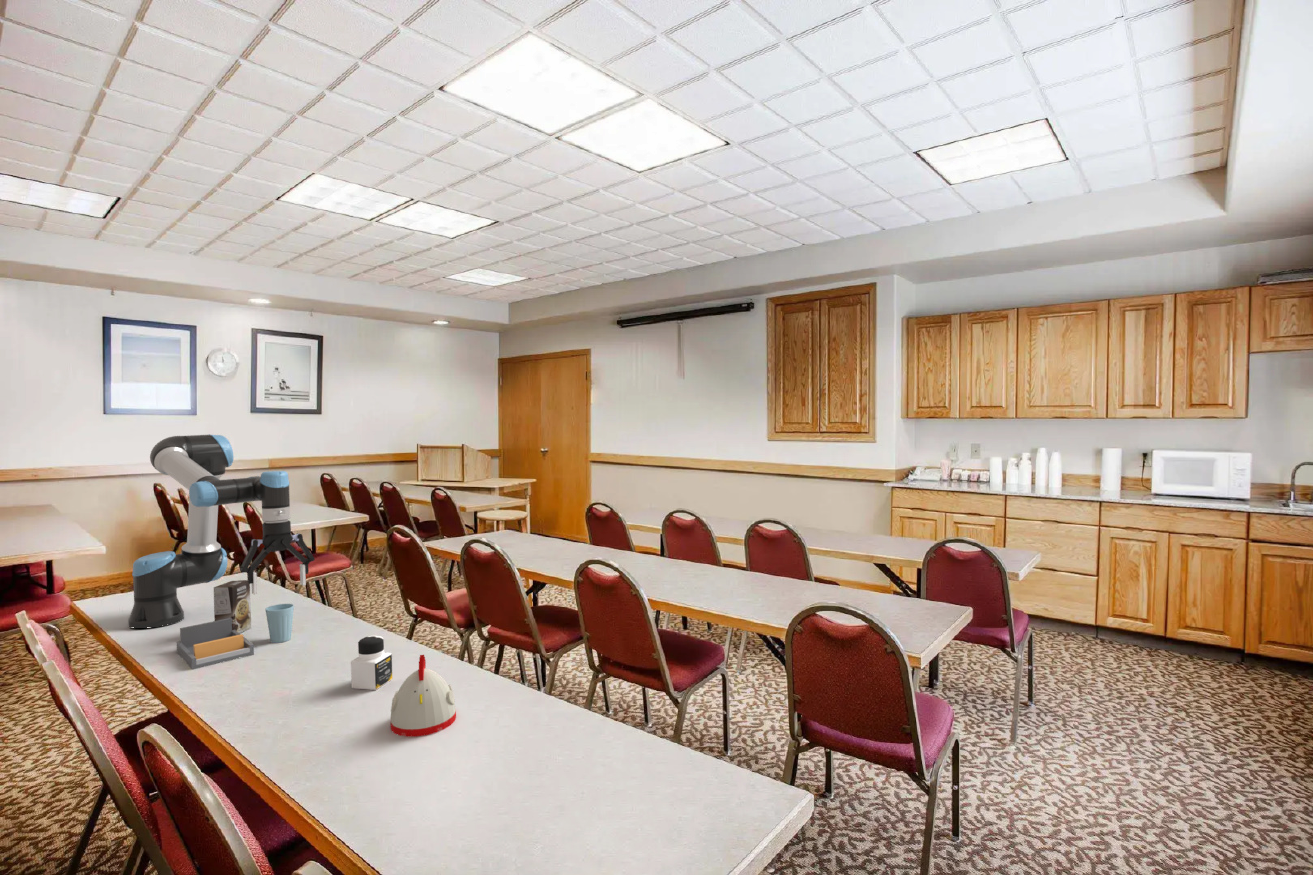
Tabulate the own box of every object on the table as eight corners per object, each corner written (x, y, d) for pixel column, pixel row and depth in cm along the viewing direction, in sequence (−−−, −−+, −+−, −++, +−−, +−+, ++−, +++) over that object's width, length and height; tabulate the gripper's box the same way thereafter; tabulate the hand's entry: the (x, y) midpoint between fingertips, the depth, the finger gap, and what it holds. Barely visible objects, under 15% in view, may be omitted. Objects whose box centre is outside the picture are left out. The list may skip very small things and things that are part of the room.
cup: (294, 634, 209) (293, 602, 209) (295, 641, 203) (294, 608, 202) (267, 638, 205) (265, 605, 205) (266, 646, 199) (265, 612, 198)
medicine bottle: (376, 690, 164) (374, 643, 164) (351, 688, 166) (349, 642, 165) (393, 679, 171) (391, 634, 171) (368, 677, 173) (367, 632, 172)
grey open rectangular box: (176, 652, 195) (175, 629, 194) (235, 639, 205) (234, 617, 205) (192, 669, 181) (191, 644, 180) (253, 654, 192) (252, 630, 191)
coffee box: (234, 637, 207) (232, 586, 207) (214, 637, 208) (212, 587, 207) (252, 628, 216) (250, 579, 216) (233, 628, 217) (231, 579, 216)
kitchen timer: (386, 741, 139) (384, 671, 138) (394, 712, 152) (392, 649, 151) (455, 731, 142) (453, 663, 142) (456, 704, 156) (455, 642, 155)
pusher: (190, 654, 189) (189, 640, 189) (237, 643, 198) (237, 630, 198) (195, 660, 185) (194, 646, 184) (243, 648, 193) (243, 635, 193)
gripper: (233, 527, 191) (236, 599, 192) (323, 517, 209) (326, 583, 210) (226, 525, 196) (229, 595, 197) (315, 515, 214) (317, 579, 215)
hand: (279, 589), depth 203 cm, fingers open, 13 cm apart
